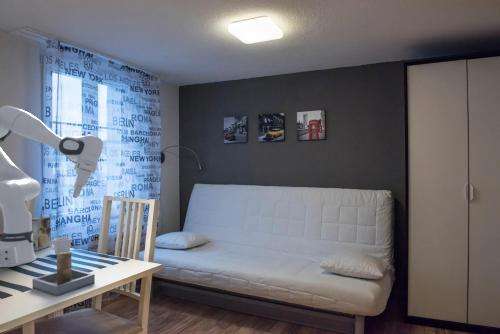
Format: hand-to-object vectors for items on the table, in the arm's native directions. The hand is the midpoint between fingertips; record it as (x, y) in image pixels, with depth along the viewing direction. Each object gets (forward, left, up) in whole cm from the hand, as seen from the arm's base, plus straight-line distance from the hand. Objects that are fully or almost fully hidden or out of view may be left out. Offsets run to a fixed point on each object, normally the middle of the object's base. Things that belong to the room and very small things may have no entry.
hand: (75, 197), depth 159 cm
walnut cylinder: (0, -26, -31) cm, 40 cm away
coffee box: (-24, +38, -32) cm, 55 cm away
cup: (-11, +22, -32) cm, 40 cm away
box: (0, -26, -31) cm, 41 cm away
